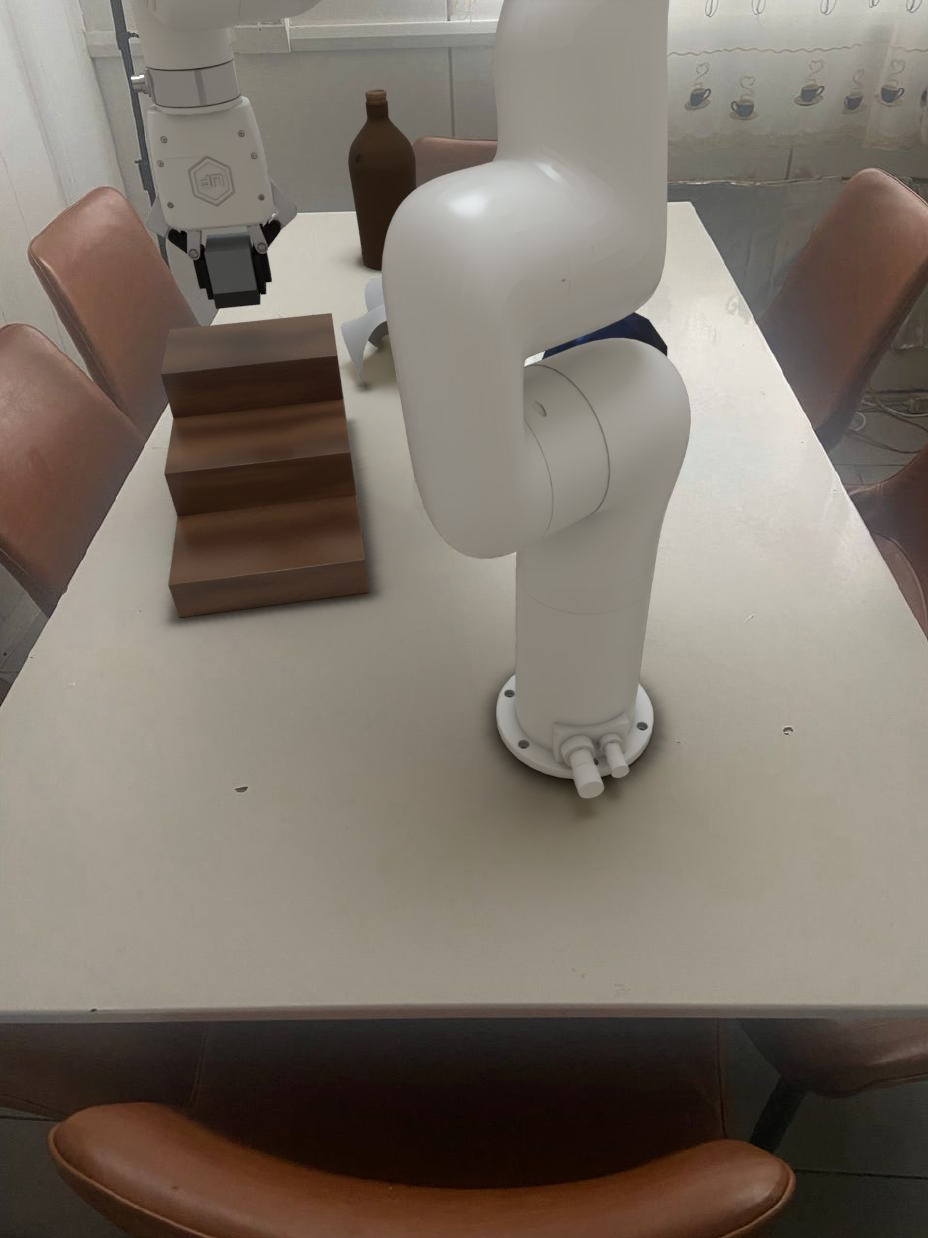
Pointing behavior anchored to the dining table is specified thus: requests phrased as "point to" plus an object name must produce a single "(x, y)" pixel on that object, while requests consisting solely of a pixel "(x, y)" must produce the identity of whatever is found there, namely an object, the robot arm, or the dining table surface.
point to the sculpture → (366, 325)
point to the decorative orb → (619, 334)
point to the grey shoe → (232, 270)
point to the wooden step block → (260, 467)
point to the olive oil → (379, 176)
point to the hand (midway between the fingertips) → (237, 290)
